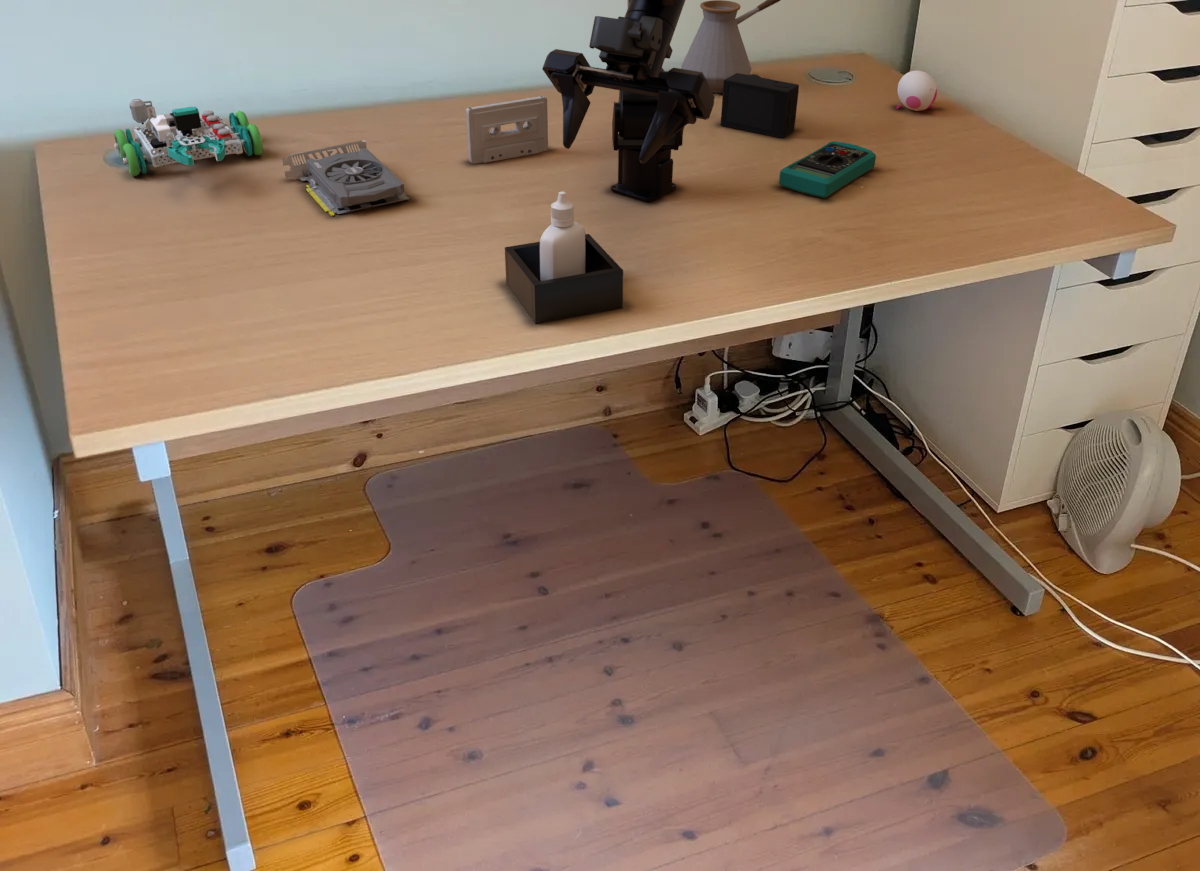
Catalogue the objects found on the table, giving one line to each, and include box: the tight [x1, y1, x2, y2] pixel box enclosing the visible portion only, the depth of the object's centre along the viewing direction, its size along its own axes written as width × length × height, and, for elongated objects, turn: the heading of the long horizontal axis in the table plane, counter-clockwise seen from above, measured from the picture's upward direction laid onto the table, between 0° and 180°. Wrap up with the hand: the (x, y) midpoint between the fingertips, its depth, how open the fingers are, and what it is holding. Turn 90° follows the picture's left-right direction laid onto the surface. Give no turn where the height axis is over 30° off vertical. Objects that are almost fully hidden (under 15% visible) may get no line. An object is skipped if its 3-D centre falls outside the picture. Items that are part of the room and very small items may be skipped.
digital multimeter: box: [778, 140, 877, 199], centre depth 154 cm, size 7×15×3 cm, turn 142°
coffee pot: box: [680, 0, 781, 94], centre depth 185 cm, size 21×12×15 cm, turn 115°
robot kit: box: [113, 98, 264, 177], centre depth 153 cm, size 19×25×9 cm
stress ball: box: [896, 70, 938, 112], centre depth 178 cm, size 8×8×7 cm
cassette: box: [465, 95, 549, 165], centre depth 158 cm, size 12×2×8 cm, turn 118°
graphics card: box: [281, 139, 410, 217], centre depth 148 cm, size 17×4×12 cm
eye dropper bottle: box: [539, 191, 586, 281], centre depth 122 cm, size 4×6×12 cm
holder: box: [504, 233, 624, 325], centre depth 124 cm, size 10×10×4 cm
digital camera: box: [720, 73, 800, 139], centre depth 169 cm, size 10×5×7 cm, turn 58°
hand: (603, 154), depth 123 cm, fingers open, 9 cm apart
